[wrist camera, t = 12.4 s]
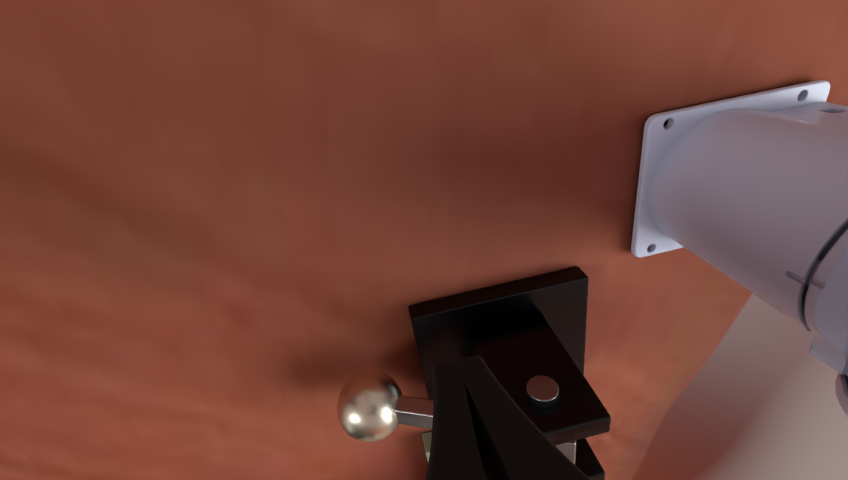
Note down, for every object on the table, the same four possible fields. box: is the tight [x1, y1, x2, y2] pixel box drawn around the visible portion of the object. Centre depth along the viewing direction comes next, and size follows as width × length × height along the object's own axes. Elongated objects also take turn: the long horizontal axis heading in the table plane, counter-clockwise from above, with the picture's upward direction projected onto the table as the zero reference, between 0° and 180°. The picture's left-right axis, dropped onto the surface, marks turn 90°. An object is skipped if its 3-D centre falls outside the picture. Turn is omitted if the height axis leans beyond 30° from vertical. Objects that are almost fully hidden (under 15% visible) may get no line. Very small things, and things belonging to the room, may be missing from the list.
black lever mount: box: [408, 267, 611, 480], centre depth 21 cm, size 10×8×8 cm
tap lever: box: [337, 371, 576, 464], centre depth 21 cm, size 12×4×4 cm, turn 99°
